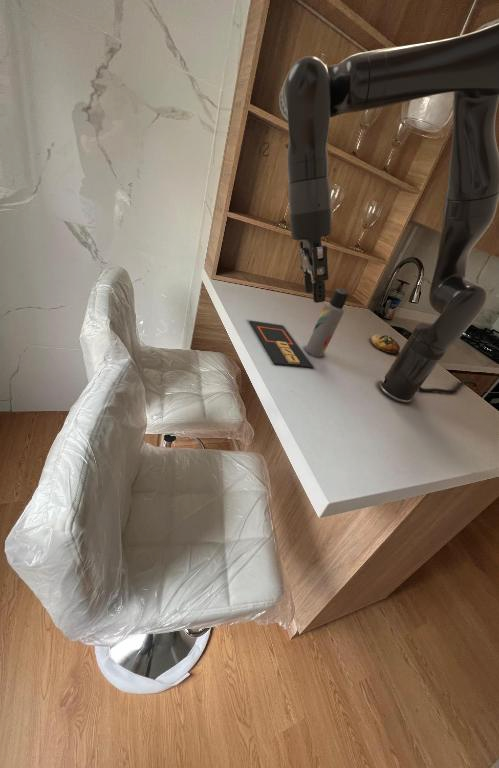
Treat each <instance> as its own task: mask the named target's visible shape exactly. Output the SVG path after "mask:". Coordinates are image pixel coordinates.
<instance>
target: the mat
mask: <svg viewBox="0 0 499 768" xmlns="http://www.w3.org/2000/svg"><path fill="white" fill-rule="evenodd" d="M249 324H250V325H251V327H252V329H253V330H254V332H255V333H256V336H257V337H258V339H259V341H260V342H261V344H262V346H263V348H264V349H265V351H266V352H267V354H268V356H269V358H270V360H271V361H272V363H273V365H276V366H277V365H278V366H287V367H297V368H298V367H299V368H305V369H306V368H307V369H308V368H309V369H314V366H313V364H312V363H311V362H310V360H309V359H308V358H307V356H306V355H305V353H304V352H303V351H302V350H301V348H300V347H299V345H298V344H297V343H296V341H295V340H294V339H293V337H292V336H291V335H290V333H289V332H288V331H287V329H286V328H285V326H284V325H281V324H274V323H269V322H262V321H256V320H255V321H254V320H249Z"/></svg>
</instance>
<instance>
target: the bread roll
mask: <svg viewBox="0 0 499 768" xmlns="http://www.w3.org/2000/svg"><path fill="white" fill-rule="evenodd" d="M370 342H371V343H372V344H373V345H374V346H375V348H376V349H378V350H380V351H381V352H385V353H388V354H397V353H400V351H401V350H400V349H401V346H400V344H399V342H398V341H397V340H395V339H394V338H393V337H392V336H388V335H386V334H381V333H379V334H378V333H377V334H374V335H373V336H371V340H370Z"/></svg>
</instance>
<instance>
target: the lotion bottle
mask: <svg viewBox="0 0 499 768" xmlns="http://www.w3.org/2000/svg"><path fill="white" fill-rule="evenodd" d="M349 293H350V292H349V291H348V290H347V289H346V288H343V287H336V288H335V290H334V292H333V294H332V296H331V298H330V300H329V301H328V302H325V304H324V306H323V308H322V310H321V313H320V315H319V318H318V319H317V321H316V324H315V326H314V328H313V329H312V333H311V335H310V336H309V337H310V338H309V340H308V342H307V343H306V347H305V350H306V352H307V353H308V354H309V355H311V356H314V357H317V358H318V357H319V358H320V357H323V356H324V354H325V352H326V350H327V349H328V346H329V345H330V343H331V340H332V338H333V336H334V334H335V332H336V329H337V328H338V325H339V324H340V322H341V320H342V317H343V315H344V313H345V309H344V306H345V303H346V302H347V299H348V297H349V295H350V294H349Z"/></svg>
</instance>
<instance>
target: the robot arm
mask: <svg viewBox="0 0 499 768" xmlns="http://www.w3.org/2000/svg"><path fill="white" fill-rule="evenodd" d="M448 93H453V120H452V140H451V147H450V155H449V164H448V165H449V166H448V175H447V183H446V189H445V194H444V203H443V212H442V221H441V232H440V238H439V244H438V252H437V257H436V258H437V259H436V262H435V263H436V265H435V269H434V272H433V275H432V276H433V277H432V280H431V284H430V289H429V295H428V299H429V300H428V301H429V304H430V306H431V307H432V309H433V310H434V311H435V312H436V313H439V314H440V315H438V317H437V319H436V320H435V321H434V322H433V323H427V322H420V323H418V324H416V326H415V328H414V329H413V331H412V332H411V334H410V336H409V337H408V339H407V340H406V342H405V344H404V346H402V348H401V350H400V351H399V352H398V354H397V356H396V358H395V359H394V361H393V362H392V364H391V365H390V367H389V369H388V370H387V372H386V373H385V374H383V375H382V377H381V381H380V382H379V383H378V388H379V389H380V391H381V392H382V393H383V394H384V395H385V396H387V397H388V398H390V399H391V400H392V401H393V400H394V401H396V402H398V403H402V404H409V403H410V402H411V401H412V400H413V398H414V396H415V395H416V394H417V392H418V391H420V392H423V393H424V392H426V393H430V392H438V393H439V392H440V393H446V394H447V393H454V392H456V391H457V390H458V389H459V388H460V386H461V385H462V384H471V385H473V386H474V387H475V388H478V384H477V382H476V381H473V380H460V381H458V382H457V384H456V385H455V386H454V387H453V388H451V389H443V388H435V387H431V388H423V387H422V386H423V384H424V383H425V382H426V380H427V379H428V377H429V376H430V374H432V371H434V369H435V367H436V366H437V365H438V364H439V362H440V361H441V359H442V358H443V357H444V355H445V354H446V353H447V351H448V349H449V348H450V347H451V346H452V345H454V343H456V342H457V341H459V339H460V338H461V337H462V336H463V335H464V333H465V332H466V331H467V330H468V328H469V327H470V326H471V325H472V324H473V323H474V321H475V320H476V319H477V318H478V316H479V315H480V314H481V313H482V312H483V309H484V308H485V306H486V303H487V301H488V292H487V290H486V289H485V288H484V287H483V286H482V285H479V284H478V283H476V282H473V281H472V280H470V279H468V278H467V267H468V261H469V257H470V255H471V253H472V250H473V248H474V247H475V245H476V244H477V243H478V241H480V239H481V238H482V237H483V235H484V234H485V233H486V231H487V230H488V229H489V227H490V226H491V224H492V223H493V221H494V219H495V216H496V213H497V208H498V205H499V149H498V143H497V139H496V118H497V117H496V116H497V111H498V105H499V18H497V19H494V20H492V21H489V22H486V23H485V24H483V25H482V26H479V27H477V29H476V30H475V31H473V32H469V33H467V34H462V35H458V36H455V37H450V38H445V39H440V40H434V41H428V42H421V43H413V44H406V45H399V46H392V47H387V48H381V49H380V48H379V49H375V50H370V51H365V52H358V53H355V54H353V55H350V56H348V57H346V58H345V59H343V60H342V61H340V62H339V63H337V64H333V65H330V66H326V65H325V63H324V62H323V61H322V60H321V59H320V58H318V57H316V56H313V55H307V56H303V57H301V58H300V59H298V60H296V62H295V63H293V65H292V66H291V67H290V69H289V71H288V73H287V75H286V76H285V79H284V81H283V83H282V86H281V88H280V91H279V94H278V95H279V97H278V102H279V103H278V105H279V109H280V112H281V115H282V116H283V117H284V119H285V120H286V121H287V127H288V145H287V151H286V166H287V169H286V171H287V181H288V212H289V213H288V214H289V223H290V235H291V239H292V240H294V241H299V243H298V245H299V254H300V269H301V271H302V274H303V275H304V276H303V278H304V280H303V281H304V289H305V290H304V291H305V293H307V294H310V293H312V299H313V300H312V301H313V303H314V304H315V303H316V304H318V303H324V302H325V301H326V284H325V283H326V282H327V281H328V280H329V264H328V247H327V245H326V244H324V245H323V244H322V238H323V237H327V236H330V235H331V234H332V229H333V227H332V194H331V185H330V177H329V176H330V174H329V153H328V152H329V151H328V140H329V131H330V123H331V121H330V120H331V118H335V117H337V116H340V115H343V114H349V113H359V112H365V111H371V110H375V109H381V108H385V107H389V106H395V105H399V104H403V103H406V102H409V101H414V100H418V99H422V98H423V99H424V98H427V97H431V96H432V97H433V96H436V95H442V94H448ZM318 273H319V274H318ZM460 382H461V383H460Z"/></svg>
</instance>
